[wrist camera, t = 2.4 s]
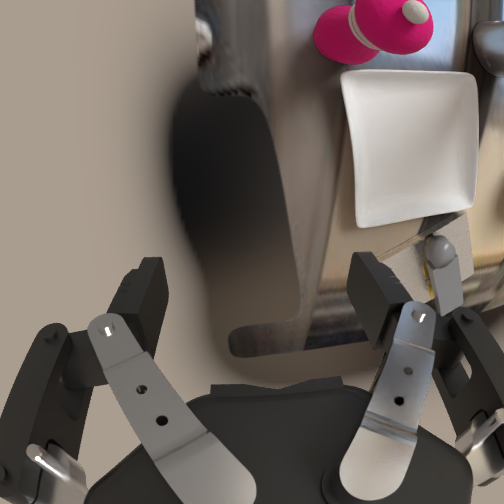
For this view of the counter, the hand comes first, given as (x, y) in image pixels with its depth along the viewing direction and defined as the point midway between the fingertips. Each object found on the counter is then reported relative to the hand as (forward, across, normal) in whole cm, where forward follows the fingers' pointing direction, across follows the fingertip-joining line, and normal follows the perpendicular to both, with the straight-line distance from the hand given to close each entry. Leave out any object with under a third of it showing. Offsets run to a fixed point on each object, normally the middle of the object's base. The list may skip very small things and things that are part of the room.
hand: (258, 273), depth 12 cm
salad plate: (+26, -23, -3) cm, 35 cm away
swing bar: (+22, -32, +17) cm, 43 cm away
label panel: (+26, -31, +18) cm, 45 cm away
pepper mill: (+26, -11, -16) cm, 32 cm away
